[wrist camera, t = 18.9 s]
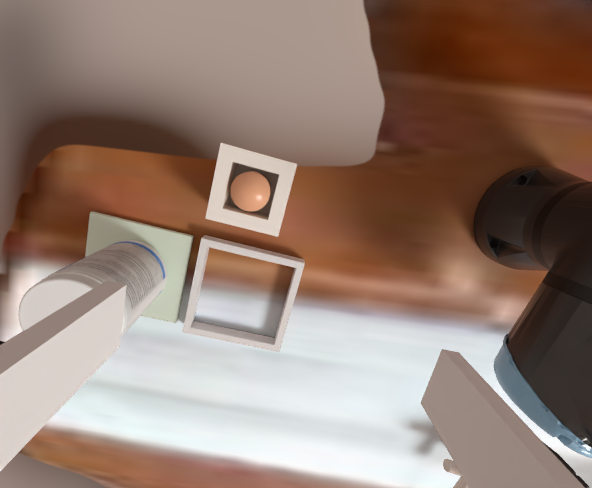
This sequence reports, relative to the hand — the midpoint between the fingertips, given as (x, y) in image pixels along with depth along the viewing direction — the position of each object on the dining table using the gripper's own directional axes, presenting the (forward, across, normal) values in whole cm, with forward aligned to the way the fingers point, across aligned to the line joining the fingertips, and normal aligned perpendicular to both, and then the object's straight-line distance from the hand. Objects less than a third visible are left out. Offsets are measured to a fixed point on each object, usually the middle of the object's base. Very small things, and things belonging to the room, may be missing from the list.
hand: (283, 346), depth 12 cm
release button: (+30, +5, -3) cm, 30 cm away
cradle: (+32, +4, +13) cm, 35 cm away
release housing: (+32, +5, -4) cm, 33 cm away
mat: (+32, +20, +12) cm, 39 cm away
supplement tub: (+31, +20, +12) cm, 39 cm away
